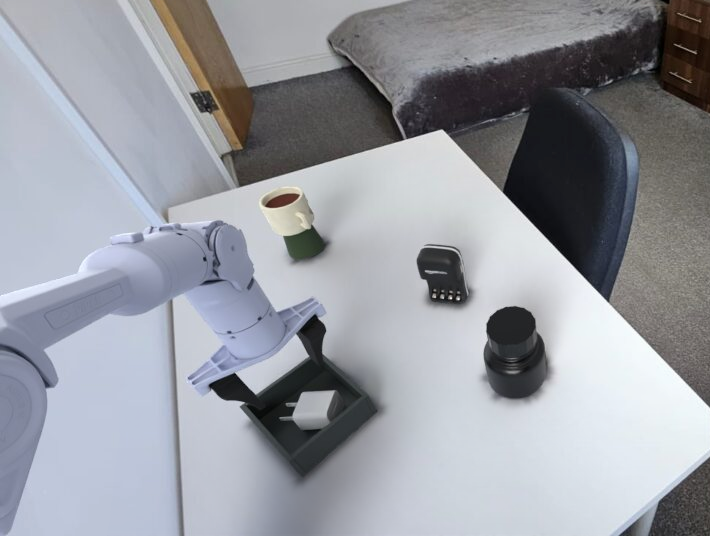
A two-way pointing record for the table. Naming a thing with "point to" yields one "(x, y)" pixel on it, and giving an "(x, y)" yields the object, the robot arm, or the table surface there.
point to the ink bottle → (514, 353)
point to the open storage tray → (286, 435)
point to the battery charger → (443, 273)
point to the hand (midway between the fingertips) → (289, 381)
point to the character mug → (292, 220)
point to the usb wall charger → (316, 409)
